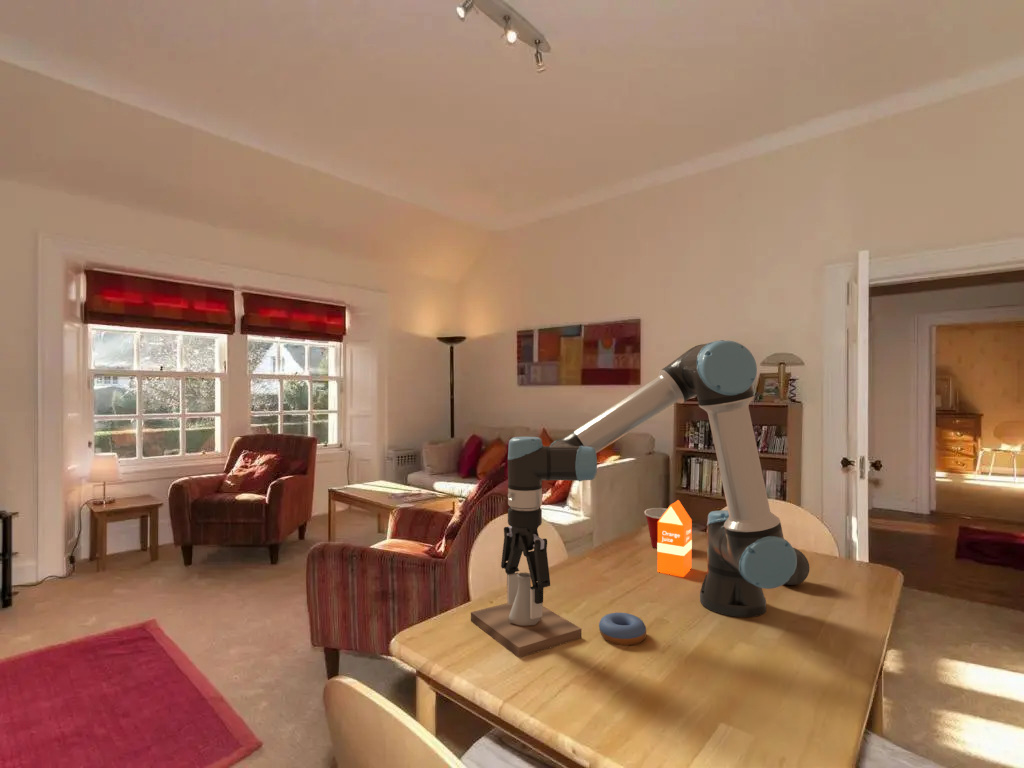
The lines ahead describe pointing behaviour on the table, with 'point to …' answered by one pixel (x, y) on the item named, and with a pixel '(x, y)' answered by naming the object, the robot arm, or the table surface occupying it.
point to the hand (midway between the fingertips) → (524, 609)
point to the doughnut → (622, 628)
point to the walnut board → (525, 630)
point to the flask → (522, 603)
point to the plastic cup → (654, 523)
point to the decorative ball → (799, 569)
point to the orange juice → (674, 541)
